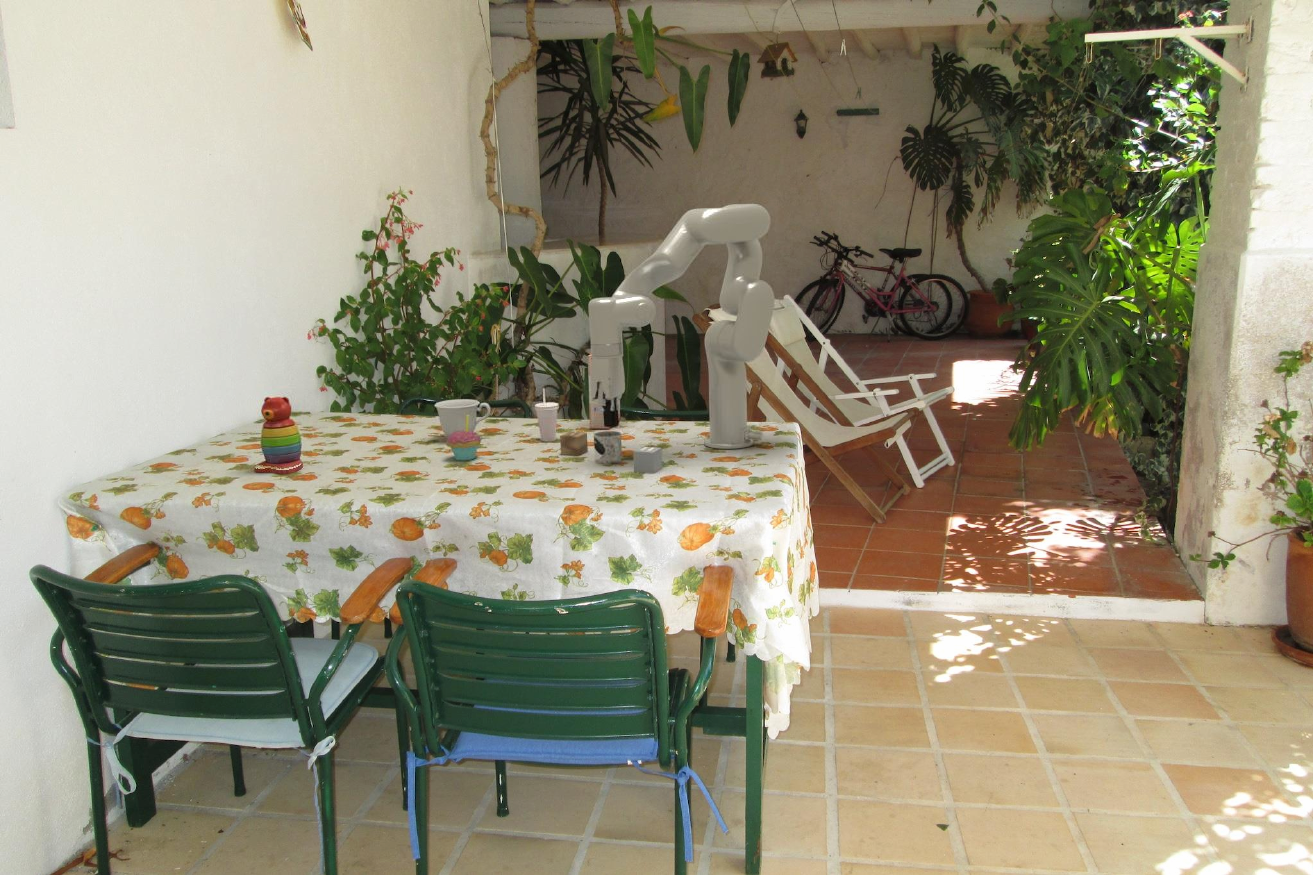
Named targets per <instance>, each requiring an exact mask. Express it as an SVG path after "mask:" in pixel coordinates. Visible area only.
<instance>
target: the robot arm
mask: <svg viewBox="0 0 1313 875" xmlns="http://www.w3.org/2000/svg"><path fill="white" fill-rule="evenodd" d="M770 226H771V217H770V214H769V211H768V210H767V209H766V208H765V207H764V206H762V205H760V204H756V203H741V204H740V203H735V204H728V205H724V206H723V207H711V208H709V207H705V208H694V209H693V208H692V209H690V210H688V211H686V212H685V213H684V214H683V215H682V216H681V217H680V218H679V220H678V221H677V222H676V224H675V225H674V226H673V228H672V230H670V232H669V233H668V235H667V236H666V237H665V238H664V240H663V241H662V243H660V245H659V247H658V248H657V249H656V250H655V252H654V253H653V254H652V255H650V256H649V257H648V258H647V259H645V260H644V261H643V262H642V263H640V264H639V265H638V266H637V267H636V268H635V269H633V270H632V271H631V272H630V273H629V274H628V275H627V276H626V277H625V279H624V280H623V281H622V282H621V284H620V285H619V286H618V287H617V289H616V290H615V291H614V293H613V294H612V296H609V297H607V296H606V297H596V298H593V299H591V300H590V301H589V302H588V320H589V337H590V338H589V339H590V351H591V352H590V354H591V356H592V362H591V397H592V399H594V400H595V399H598V405H599V406H602V410H603V416H604V426H605V427H611V428H616V427H619V426H620V420H619V418H618V410H616V409H618V408H619V400H620V401H621V398H622V397H623V396H622V395H623V394H624V393H625V392H626V391H625V390H626V377H625V368H624V361H623V357H624V346H623V345H624V344H623V342H624V341H623V328H624V327H625V328H627V327H629V328H641V327H645V326H647V325H650V323H651V322H653V321H654V318H655V317H656V314H657V313H656V312H657V310H656V305H655V303H654V302H653V301H652V299H650V298H649V297H648V296H650V295H651V294H652V293H653V292H654V291H655V290H657V289H659V288H660V287H661V286H663V285H666V284H668V283H671V282H673V281H675V280H677V279H678V278H680V277H682V276H683V275H684V274H685V272H686V271H687V269H689V267H690V266H691V264H692V262H693V261H694V260H696V259H695V258H696V257H697V256H698V254H699V253H701V251H702V249H703V248H704V247H705V246H706V245H711V246H712V245H724V244H725V245H726V247H727V251H728V259H727V266H726V270H725V274H724V278H723V281H722V286H721V290H720V295H719V307H720V308H721V310H722V311H723V312H724V313H726V314H728V315H729V316H734V317H736V318H735V320H730V319H721V320H717V321H715V322H713V323H712V324H711V325H710V326H709V327H708V328H707V330H706V333H705V336H704V348H705V354H706V359H707V360H706V361H707V366H708V368H707V370H708V399H709V400H708V402H709V403H708V404H709V409H708V410H709V436H708V437H706V438H704V439H703V445H704V446H706V447H709V448H712V449H717V450H718V449H720V450H721V449H722V450H731V449H732V450H733V449H743V448H747V447H750V446H752V445H753V444H754V441H755V440H758V441H759V440H760V441H762V440H763V438H764V436H763V432H762V431H761V430H760V431H759V430H752V429H751V425H748V411H747V410H748V408H747V406H748V405H747V404H748V402H747V401H748V398H747V393H748V392H747V384H748V382H747V381H748V380H747V370H746V364H745V363H750V362H753V361H755V360H757V359H758V358H759V357H760V355H761V354H762V352H763V350H764V348H765V346H766V342H767V340H768V339H767V338H768V335H769V331H770V326H771V323H772V319H773V315H774V310H775V302H776V301H775V294H774V290H773V288H772V287H771V285H770V284H768V283H767V282H766V281H764V280H762V279H760V276H761V272H762V271H761V270H762V265H763V251H762V250H763V248H762V246H761V243H760V241H759V239H761V238H762V237H764V236H765V235H766V234H767V233H768V232H769V229H770ZM605 397H606V398H605Z"/></svg>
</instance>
